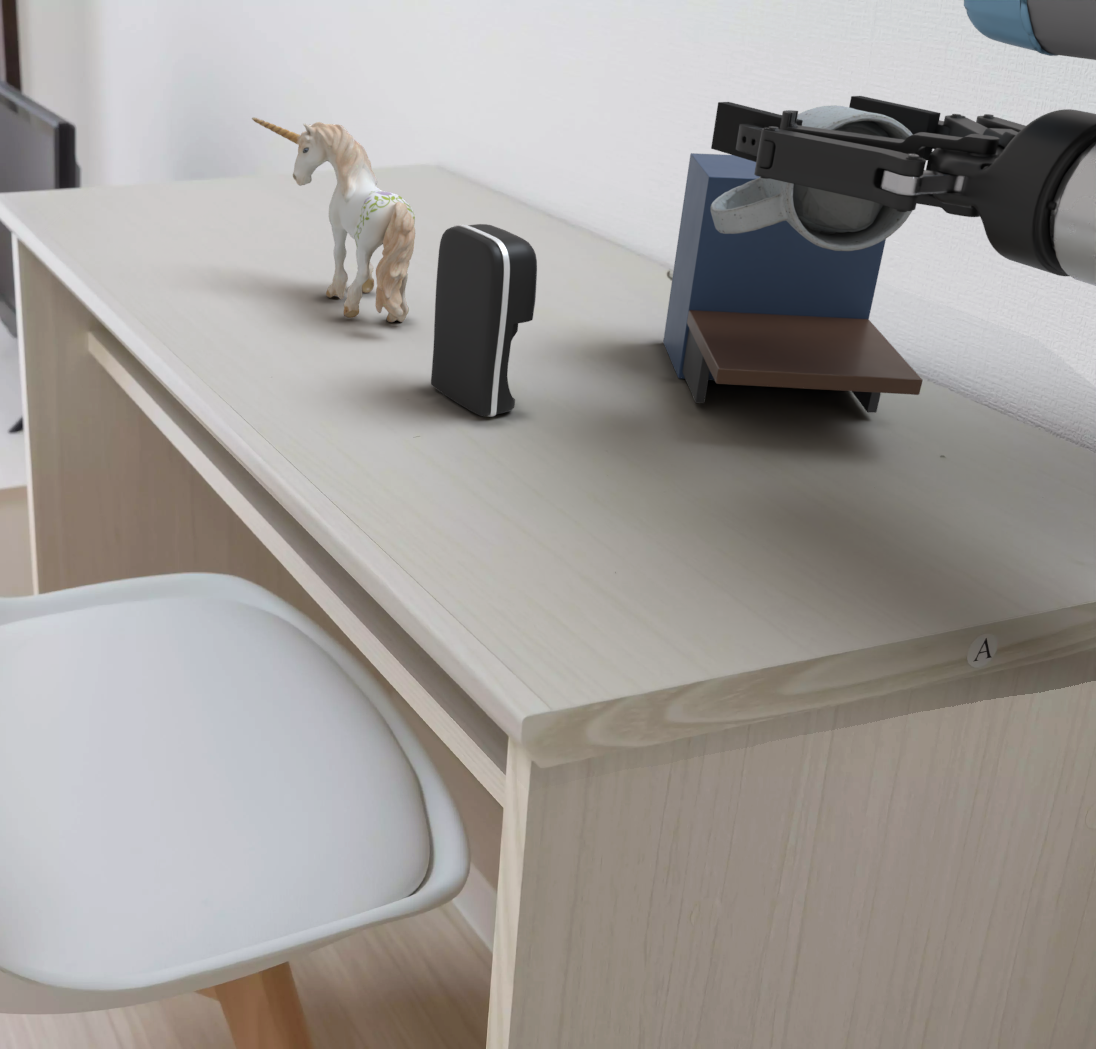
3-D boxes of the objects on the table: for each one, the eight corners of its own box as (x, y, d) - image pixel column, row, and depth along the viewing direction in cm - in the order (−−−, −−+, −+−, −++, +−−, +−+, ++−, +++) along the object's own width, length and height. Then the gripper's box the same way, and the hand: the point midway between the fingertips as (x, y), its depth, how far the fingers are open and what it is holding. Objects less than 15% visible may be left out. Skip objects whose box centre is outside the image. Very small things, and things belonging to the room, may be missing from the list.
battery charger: (532, 414, 87) (550, 239, 82) (482, 422, 86) (498, 245, 81) (474, 379, 93) (487, 214, 88) (426, 387, 91) (437, 219, 86)
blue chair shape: (826, 351, 100) (864, 160, 94) (905, 456, 82) (959, 229, 76) (662, 342, 101) (690, 153, 95) (705, 444, 83) (743, 220, 77)
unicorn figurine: (320, 268, 117) (324, 110, 111) (464, 328, 103) (478, 150, 97) (250, 279, 114) (250, 116, 108) (390, 343, 99) (399, 160, 93)
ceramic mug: (861, 220, 85) (885, 94, 82) (911, 253, 78) (939, 116, 74) (693, 217, 85) (710, 91, 82) (726, 251, 78) (746, 114, 74)
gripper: (907, 299, 62) (627, 194, 80) (1236, 261, 69) (911, 173, 88) (946, 131, 58) (644, 62, 77) (1286, 111, 66) (938, 52, 85)
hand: (787, 121), depth 82 cm, fingers closed on ceramic mug, 9 cm apart
